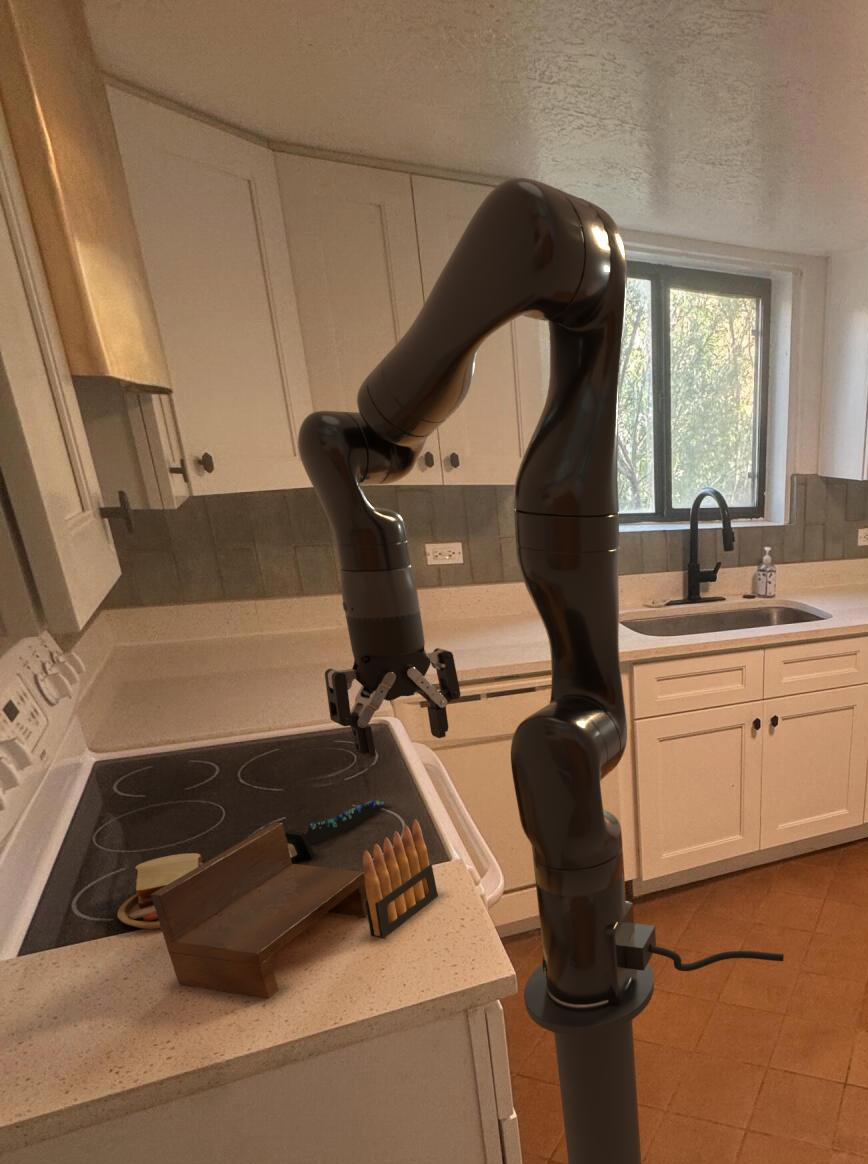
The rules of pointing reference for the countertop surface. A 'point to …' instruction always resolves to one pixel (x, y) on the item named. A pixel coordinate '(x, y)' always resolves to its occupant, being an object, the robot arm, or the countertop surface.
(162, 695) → the countertop surface
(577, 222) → the robot arm
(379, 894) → the ammunition clip
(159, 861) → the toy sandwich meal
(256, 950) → the wooden bench
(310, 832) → the knife
